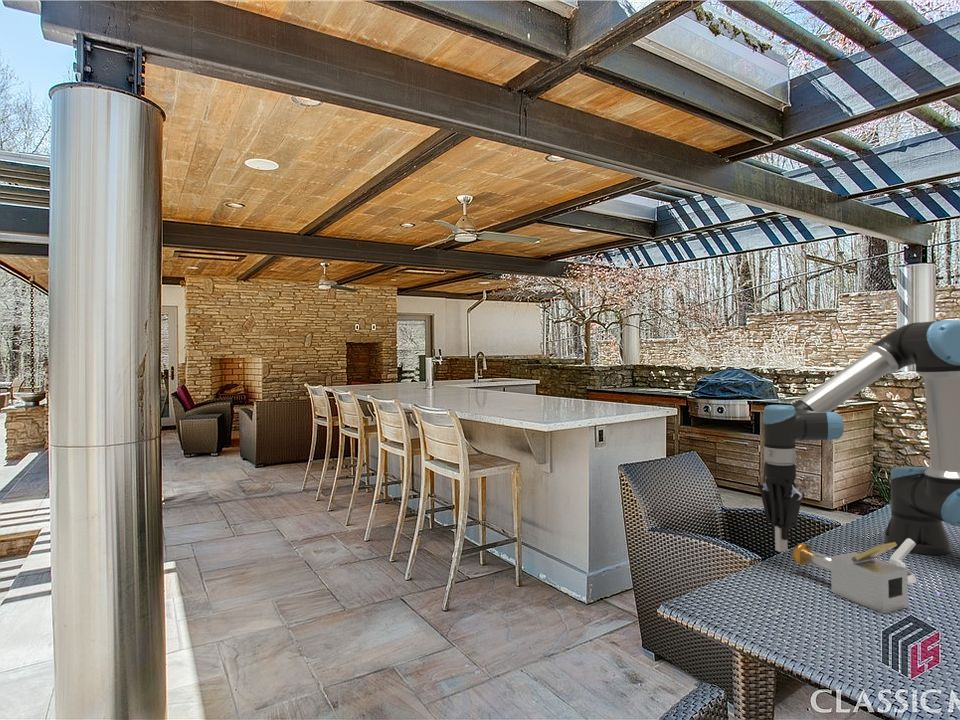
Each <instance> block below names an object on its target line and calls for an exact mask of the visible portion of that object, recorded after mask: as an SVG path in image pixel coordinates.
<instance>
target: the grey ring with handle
mask: <svg viewBox="0 0 960 720" xmlns="http://www.w3.org/2000/svg"><path fill="white" fill-rule="evenodd" d="M915 545H916V543H915V542H914V541H913V540H911V539H909V538H908V539H906V540H905V541H904V542H903V543H902V545H901V546H900V547H899V548H898V549H897V548H896V550H895V551H894V552H893V554H892V555H891V556H890V558H889V559H888V561H887V563H890V564H893V565H896V566H900V567H903V568H906V569H907V565H906V564H905V562H904V561H903V560H904V559H905V558H906V557H907V556H908V555H909V553H911V552H910V551H911V550H912V549H913V547H914V546H915ZM907 574H908V585H909V584H916V583H917V582H918V580H917V578H916V576H915V574H914V573H913V572H912V571H910V570H908V569H907Z"/></svg>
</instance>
